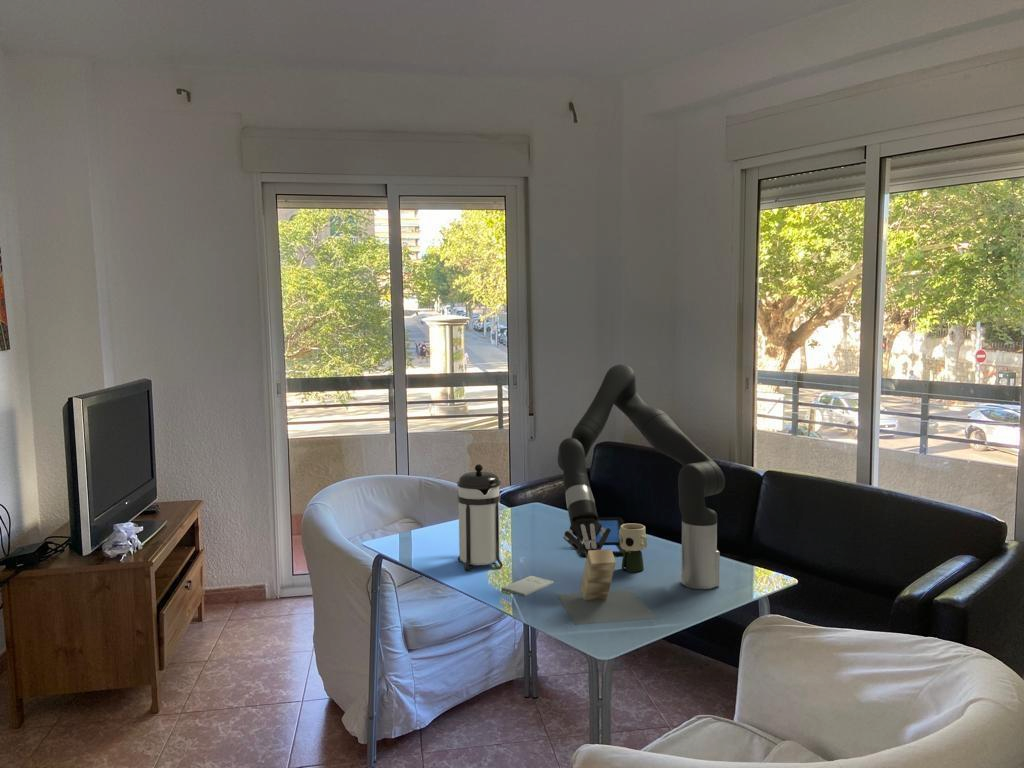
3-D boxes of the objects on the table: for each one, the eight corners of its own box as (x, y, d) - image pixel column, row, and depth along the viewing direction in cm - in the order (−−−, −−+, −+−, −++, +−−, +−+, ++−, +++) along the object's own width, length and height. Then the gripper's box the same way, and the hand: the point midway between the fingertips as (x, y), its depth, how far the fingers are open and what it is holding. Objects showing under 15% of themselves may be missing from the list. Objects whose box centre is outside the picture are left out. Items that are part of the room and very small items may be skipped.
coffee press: (516, 561, 222) (515, 462, 220) (485, 576, 209) (484, 470, 207) (470, 552, 232) (469, 457, 230) (437, 565, 219) (436, 465, 217)
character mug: (610, 568, 215) (610, 524, 214) (628, 563, 219) (628, 520, 218) (637, 578, 206) (637, 532, 205) (655, 573, 210) (655, 528, 209)
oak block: (602, 585, 193) (611, 548, 184) (607, 598, 189) (615, 562, 181) (580, 586, 192) (588, 550, 184) (584, 600, 188) (591, 563, 180)
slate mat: (630, 591, 196) (630, 589, 196) (657, 620, 176) (657, 618, 176) (556, 596, 193) (556, 594, 193) (575, 626, 173) (575, 624, 173)
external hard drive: (501, 593, 197) (530, 580, 207) (525, 600, 192) (553, 586, 201) (501, 587, 197) (530, 574, 207) (525, 593, 192) (553, 580, 201)
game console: (581, 558, 226) (581, 529, 225) (574, 545, 239) (574, 517, 239) (632, 556, 227) (632, 527, 226) (622, 544, 240) (622, 516, 240)
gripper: (602, 511, 204) (615, 569, 193) (555, 514, 202) (566, 573, 191) (607, 497, 198) (621, 556, 187) (559, 499, 196) (570, 559, 185)
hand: (593, 564), depth 189 cm, fingers closed
